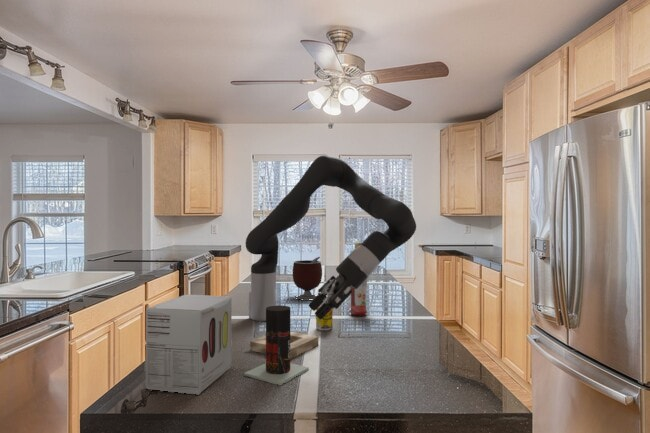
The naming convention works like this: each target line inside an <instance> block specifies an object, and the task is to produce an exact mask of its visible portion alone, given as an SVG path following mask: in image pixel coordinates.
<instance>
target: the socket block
mask: <svg viewBox="0 0 650 433" xmlns="http://www.w3.org/2000/svg"><path fill="white" fill-rule="evenodd" d="M249 343H250V344H249V349H250V351H252V352H257V353H259V354H265V355H266V335H263V336H261V337H258V338H256V339H253V340H250V342H249ZM318 346H319V336H316V335H311V334H306V333H301V332H300V333H299V332H294V331H290V360H292V359H293V358H296V357H297V356H299V354H300V355H301V353H302V354H304V353H306V352H308V351H309V350H312V349H313V348H315V347H318ZM307 350H308V351H307ZM305 351H306V352H305Z"/></svg>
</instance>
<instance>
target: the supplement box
mask: <svg viewBox="0 0 650 433" xmlns="http://www.w3.org/2000/svg"><path fill="white" fill-rule="evenodd" d="M232 299H233V298H232V296H230V295H229V296H226V295H224V296H223V295H208V294H206V295H205V294H203V295H202V294H183V295H180V296H178V297H174V298H172V299H169V300H165V301H163V302H161V303H157V304H155V305H152V306H149V307H147V308H146V307H145V308H146V311H145V314H146V315H145V316H146V318H145V322H146V323H145V325H146V326H145V329H146V330H145V389H146V388H148V389H155V390H160V391H159V392H163V391H168V392H167V393H174V392H178V393H177V394H184V393H186V394H185V395H195V394H196V396H197V395H201V393H203V392H204V391H205V389H207V388H208V387H209V386H211V385H212V384H214V382H216V380H217V379H219V378H220V377H221V376H223V375H224V374H225V373H226V372H227V371H229V370H230V369H231V368H232V322H233V321H232V317H233V316H232V314H233V313H232V312H233V311H232V310H233V307H232V305H233V302H232Z"/></svg>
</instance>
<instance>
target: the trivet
mask: <svg viewBox="0 0 650 433" xmlns="http://www.w3.org/2000/svg"><path fill="white" fill-rule="evenodd" d="M307 370H308V371H309V367H308V366H305V365H299V364H295V363H291V362H290V371H289V372H287V373H284V374H270V373H267V372H266V362H265V363H263V364H260V365H258V366H257V367H254V368H252V369H250V370H248V371H245V372H244V373H243V374H244V376H246V377H249V378H252V379H256V380H260V381H263V382H267V383H270V384H273V385H277V384H278V385H277V386H280V385H281V386H283V385H284V384H283V383H285V382H286V383H288V382H290V381H292V380H293V379H295V378H297V377H299V376H301V375H303V374H304V373H306V372H308V371H307ZM305 371H306V372H305ZM298 375H299V376H298ZM296 376H297V377H296ZM294 377H295V378H294ZM292 378H293V379H292ZM291 379H292V380H291ZM289 380H290V381H289ZM287 381H288V382H287ZM286 383H285V384H286ZM282 384H283V385H282Z"/></svg>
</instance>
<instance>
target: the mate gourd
mask: <svg viewBox="0 0 650 433" xmlns="http://www.w3.org/2000/svg"><path fill="white" fill-rule="evenodd" d="M319 259H321V257H320V256H317V257H315V258H314V259H312V260H310V259H307V260H304V259H303V260H296V261H293V265H292V280H293V283H294V285H295V286H296V288H299V289H301V290H303V291H304V292H303V294H299V295H300V296H298V297H296V296H297V295H294V297H295V298H297V299H303V300H309V299H314V298H315V297H316V296H315V295H316V294H313V295H312V292H311V291H313V290H314V289H316V288H317V287H319V286H320V284H321V282H322V278H323V268H322V261H320V260H319Z"/></svg>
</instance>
